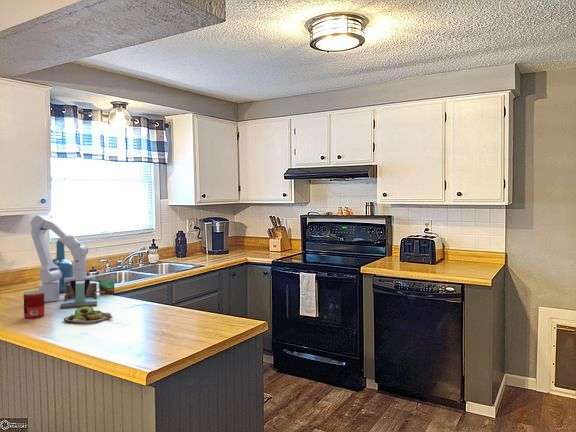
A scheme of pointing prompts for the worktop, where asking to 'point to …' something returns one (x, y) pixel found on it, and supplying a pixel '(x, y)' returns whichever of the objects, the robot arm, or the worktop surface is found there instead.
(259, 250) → the worktop surface
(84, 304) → the rubber mat
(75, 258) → the robot arm
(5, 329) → the worktop surface
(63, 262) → the wine bottle
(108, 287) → the food container
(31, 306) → the canned food
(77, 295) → the pale green block
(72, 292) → the brown banded box
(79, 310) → the salad plate
